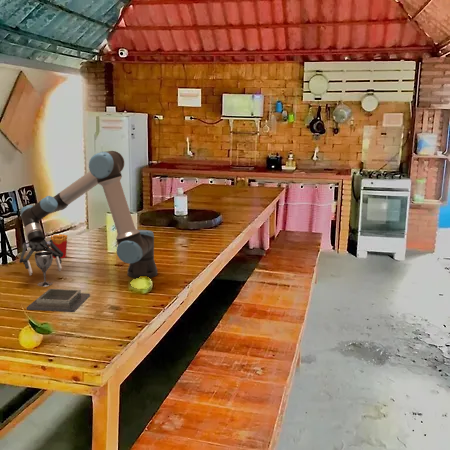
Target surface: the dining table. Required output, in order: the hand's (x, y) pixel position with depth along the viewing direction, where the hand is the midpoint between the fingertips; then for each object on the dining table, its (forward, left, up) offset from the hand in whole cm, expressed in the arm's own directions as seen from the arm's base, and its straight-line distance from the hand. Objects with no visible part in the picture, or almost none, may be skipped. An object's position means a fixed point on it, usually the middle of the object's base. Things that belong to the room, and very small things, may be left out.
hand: (46, 271), depth 242 cm
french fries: (+12, -49, -7) cm, 51 cm away
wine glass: (+1, -2, -7) cm, 7 cm away
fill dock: (-15, +21, -7) cm, 27 cm away
